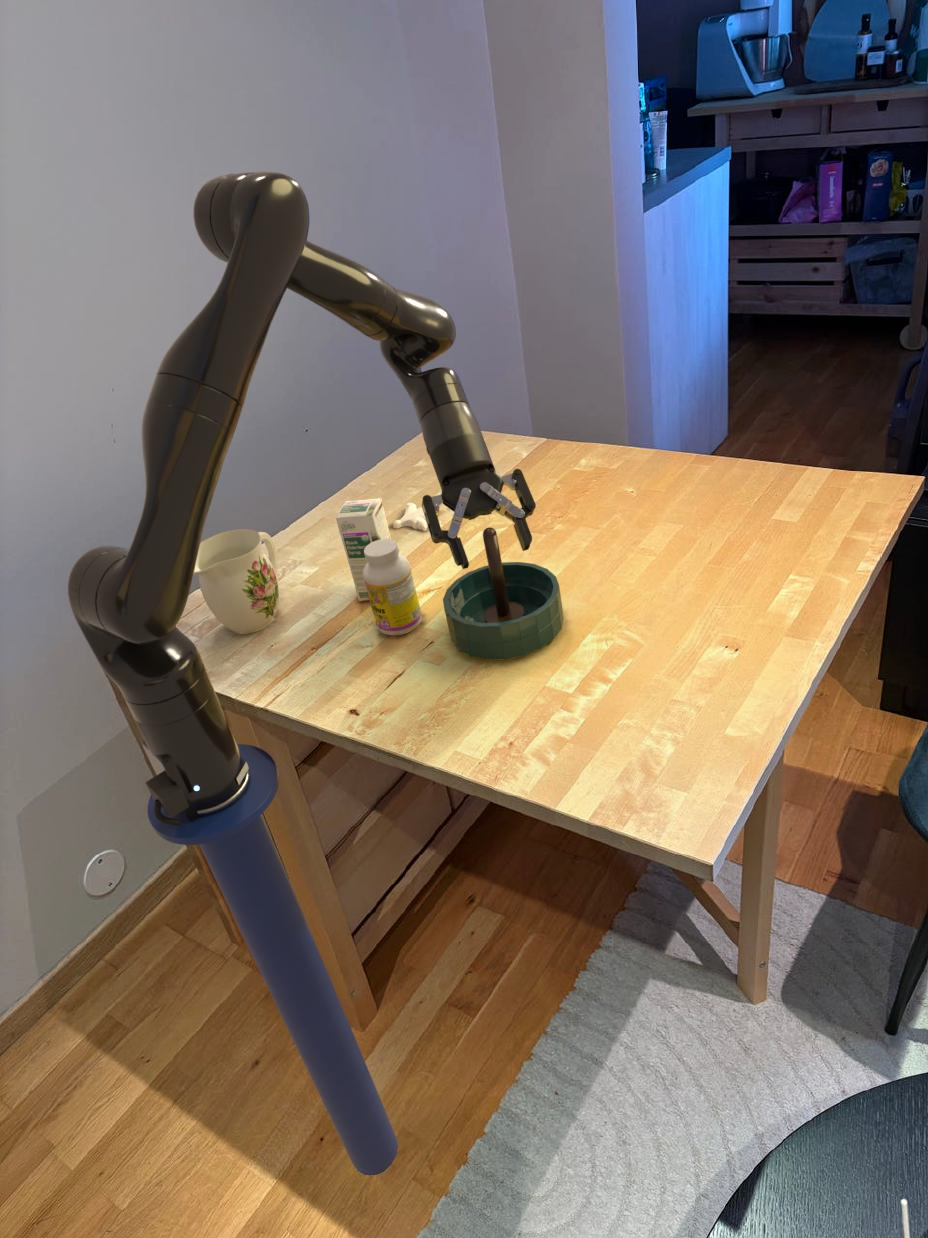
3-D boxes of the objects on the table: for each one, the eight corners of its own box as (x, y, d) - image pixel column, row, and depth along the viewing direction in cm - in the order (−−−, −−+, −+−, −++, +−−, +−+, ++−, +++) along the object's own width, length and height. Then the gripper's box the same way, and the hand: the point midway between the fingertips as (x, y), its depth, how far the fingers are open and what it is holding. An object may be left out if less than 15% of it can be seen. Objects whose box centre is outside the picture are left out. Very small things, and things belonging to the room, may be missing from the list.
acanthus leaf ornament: (408, 509, 163) (406, 499, 162) (443, 510, 160) (441, 500, 159) (390, 529, 157) (387, 520, 156) (425, 531, 154) (423, 521, 153)
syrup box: (357, 602, 139) (334, 518, 131) (367, 581, 144) (344, 498, 136) (393, 600, 138) (371, 514, 130) (402, 579, 143) (381, 495, 135)
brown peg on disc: (505, 641, 123) (487, 543, 115) (477, 628, 127) (458, 532, 118) (534, 621, 126) (519, 524, 117) (506, 609, 129) (489, 513, 121)
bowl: (505, 678, 117) (498, 640, 114) (428, 637, 128) (420, 602, 125) (587, 619, 125) (583, 582, 122) (508, 586, 136) (502, 551, 132)
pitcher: (315, 587, 145) (291, 510, 138) (254, 656, 132) (223, 574, 124) (258, 583, 149) (232, 508, 142) (193, 649, 136) (160, 570, 129)
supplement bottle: (371, 621, 134) (350, 545, 127) (413, 605, 136) (394, 529, 129) (386, 643, 129) (365, 565, 122) (429, 626, 130) (411, 548, 123)
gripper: (405, 448, 117) (446, 565, 114) (510, 418, 119) (553, 532, 116) (404, 471, 124) (442, 581, 121) (503, 442, 127) (543, 550, 123)
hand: (496, 557), depth 119 cm, fingers open, 8 cm apart
